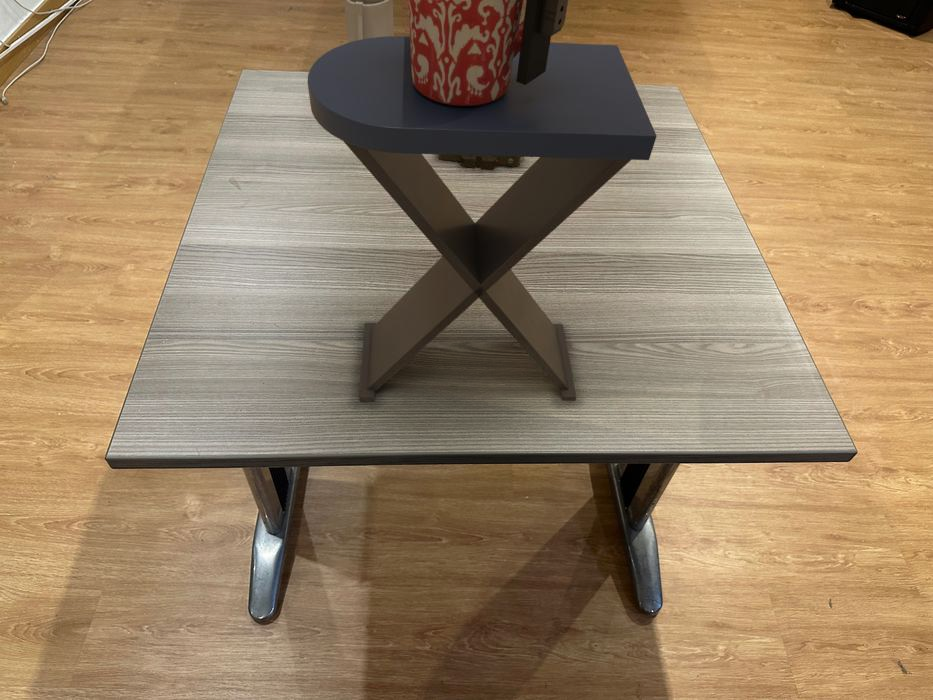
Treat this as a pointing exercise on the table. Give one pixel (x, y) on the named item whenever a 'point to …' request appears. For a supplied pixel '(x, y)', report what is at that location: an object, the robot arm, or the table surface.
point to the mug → (464, 48)
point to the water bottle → (368, 19)
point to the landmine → (483, 160)
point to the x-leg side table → (514, 214)
